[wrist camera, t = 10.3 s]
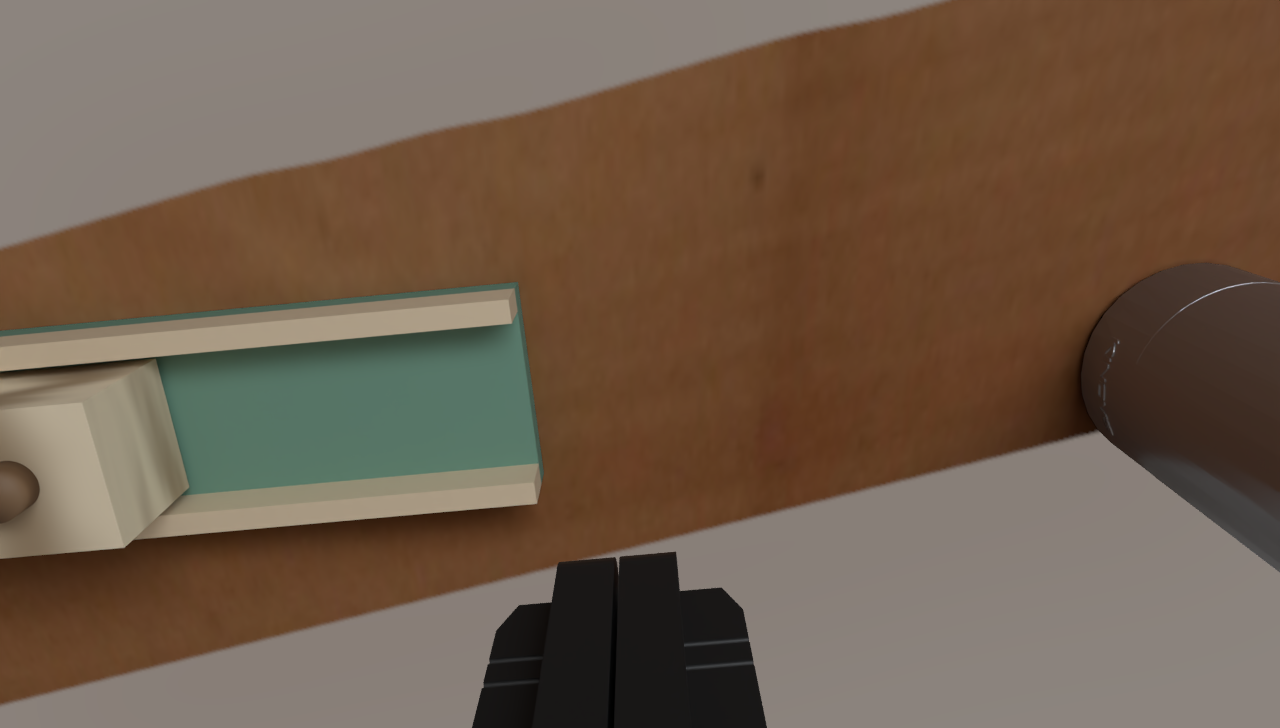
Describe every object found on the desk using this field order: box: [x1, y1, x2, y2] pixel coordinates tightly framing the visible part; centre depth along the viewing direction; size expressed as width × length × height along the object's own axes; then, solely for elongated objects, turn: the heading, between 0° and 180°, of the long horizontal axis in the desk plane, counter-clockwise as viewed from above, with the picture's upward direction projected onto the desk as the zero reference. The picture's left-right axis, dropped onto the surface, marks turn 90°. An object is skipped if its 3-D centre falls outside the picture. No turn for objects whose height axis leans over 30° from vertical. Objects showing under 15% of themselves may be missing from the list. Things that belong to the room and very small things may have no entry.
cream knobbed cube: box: [0, 358, 189, 559], centre depth 37 cm, size 7×6×7 cm
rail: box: [0, 282, 544, 540], centre depth 39 cm, size 24×9×6 cm, turn 95°
